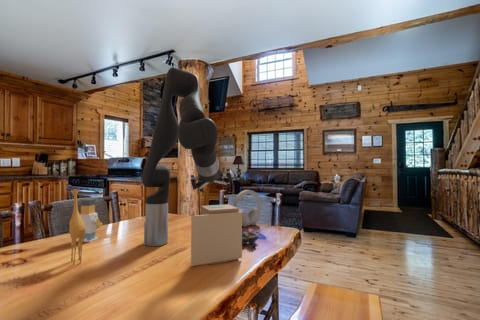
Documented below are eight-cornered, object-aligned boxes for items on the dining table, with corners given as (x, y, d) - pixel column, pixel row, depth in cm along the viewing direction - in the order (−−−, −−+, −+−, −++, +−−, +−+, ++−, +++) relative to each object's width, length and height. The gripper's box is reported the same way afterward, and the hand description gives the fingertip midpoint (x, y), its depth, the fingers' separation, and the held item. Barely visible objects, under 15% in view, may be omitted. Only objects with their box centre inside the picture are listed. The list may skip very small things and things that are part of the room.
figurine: (235, 220, 132) (267, 233, 106) (235, 231, 132) (267, 247, 106) (212, 223, 126) (240, 237, 100) (212, 234, 126) (240, 252, 100)
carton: (208, 264, 87) (209, 210, 87) (200, 255, 96) (201, 205, 96) (238, 259, 91) (238, 207, 92) (227, 251, 100) (228, 204, 101)
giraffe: (65, 254, 95) (67, 187, 95) (79, 252, 98) (81, 186, 98) (70, 269, 82) (72, 191, 83) (86, 265, 85) (88, 190, 85)
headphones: (238, 230, 133) (238, 191, 134) (229, 227, 140) (229, 190, 140) (265, 225, 145) (265, 189, 145) (255, 222, 151) (255, 188, 152)
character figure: (76, 239, 115) (77, 199, 115) (102, 236, 120) (103, 197, 120) (74, 244, 108) (75, 201, 108) (102, 241, 113) (103, 199, 113)
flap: (240, 256, 91) (240, 211, 92) (241, 257, 90) (242, 212, 91) (190, 264, 84) (191, 215, 84) (191, 265, 83) (192, 216, 83)
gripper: (227, 152, 85) (231, 176, 99) (185, 160, 84) (194, 183, 98) (231, 172, 81) (234, 194, 95) (186, 179, 80) (196, 201, 94)
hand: (214, 188), depth 96 cm, fingers open, 8 cm apart
